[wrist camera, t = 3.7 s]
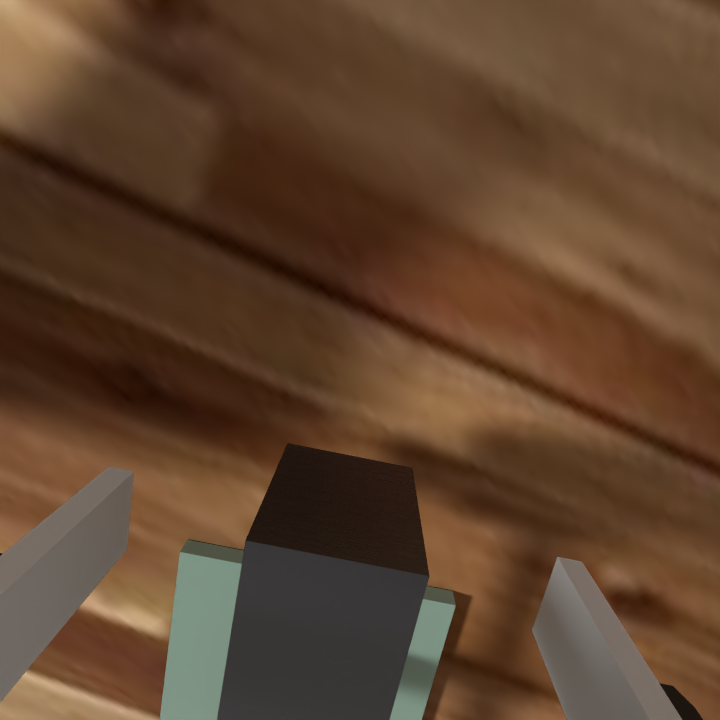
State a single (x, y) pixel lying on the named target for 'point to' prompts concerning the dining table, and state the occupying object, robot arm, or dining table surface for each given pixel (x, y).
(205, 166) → the dining table surface
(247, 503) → the dining table surface
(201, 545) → the mat
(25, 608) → the robot arm
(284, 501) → the stand
